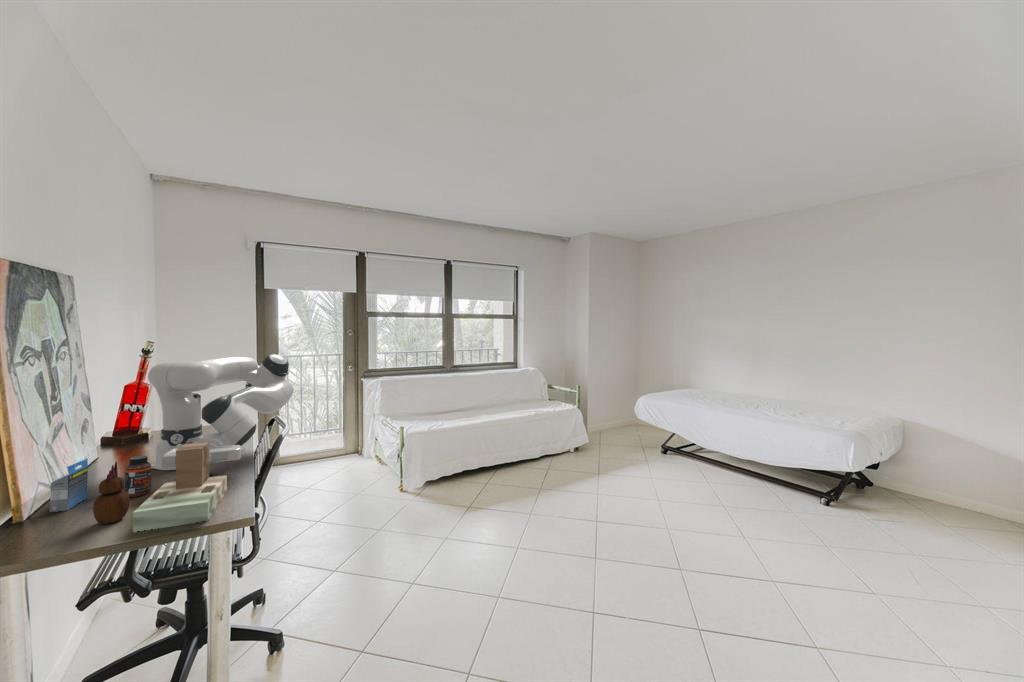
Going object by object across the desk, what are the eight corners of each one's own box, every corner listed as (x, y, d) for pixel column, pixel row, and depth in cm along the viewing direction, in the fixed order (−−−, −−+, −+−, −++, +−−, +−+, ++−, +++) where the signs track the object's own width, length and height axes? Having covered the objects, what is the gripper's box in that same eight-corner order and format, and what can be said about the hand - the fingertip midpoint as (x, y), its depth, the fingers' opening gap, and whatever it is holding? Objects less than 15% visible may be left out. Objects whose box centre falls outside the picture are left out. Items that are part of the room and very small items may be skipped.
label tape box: (70, 500, 117) (70, 459, 117) (88, 498, 118) (88, 457, 118) (48, 513, 109) (49, 468, 108) (68, 510, 110) (69, 466, 110)
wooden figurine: (114, 515, 107) (114, 459, 107) (134, 515, 107) (135, 460, 107) (86, 527, 101) (86, 467, 101) (108, 527, 100) (108, 468, 100)
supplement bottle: (134, 498, 119) (134, 460, 119) (119, 497, 120) (119, 459, 120) (156, 491, 124) (156, 455, 124) (141, 489, 126) (141, 453, 126)
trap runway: (166, 498, 119) (166, 481, 119) (226, 490, 125) (227, 474, 125) (132, 532, 98) (132, 512, 98) (207, 521, 104) (207, 502, 104)
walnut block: (184, 480, 120) (184, 443, 120) (209, 477, 123) (209, 441, 123) (175, 489, 113) (176, 450, 113) (201, 486, 116) (202, 448, 116)
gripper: (245, 456, 139) (238, 468, 126) (171, 464, 130) (155, 477, 117) (246, 438, 139) (238, 448, 126) (171, 444, 130) (155, 456, 117)
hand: (197, 462), depth 122 cm, fingers closed
